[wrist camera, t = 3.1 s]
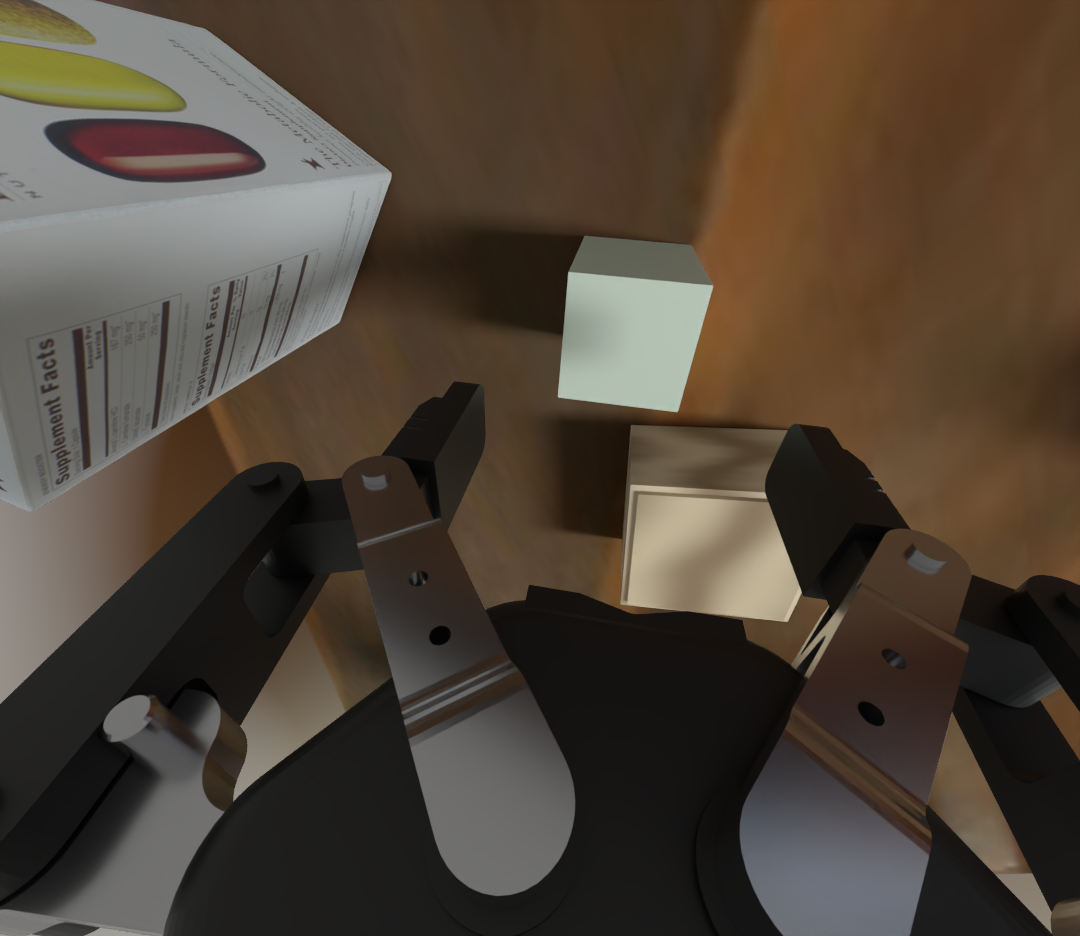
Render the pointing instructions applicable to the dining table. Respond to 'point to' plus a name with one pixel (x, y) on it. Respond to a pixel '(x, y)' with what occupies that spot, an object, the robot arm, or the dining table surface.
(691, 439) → the beige box
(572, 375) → the block
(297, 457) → the dining table surface
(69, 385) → the supplement box
